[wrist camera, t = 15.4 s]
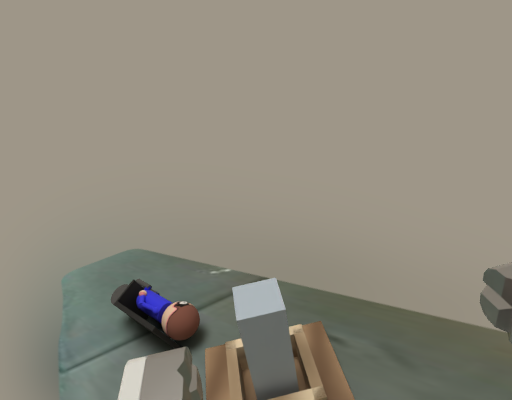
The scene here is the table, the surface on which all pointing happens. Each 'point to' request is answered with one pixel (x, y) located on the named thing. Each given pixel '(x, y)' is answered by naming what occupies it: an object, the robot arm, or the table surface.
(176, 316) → the character figurine
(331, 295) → the table surface
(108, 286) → the table surface
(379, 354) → the table surface
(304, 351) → the cradle jig
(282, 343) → the block
